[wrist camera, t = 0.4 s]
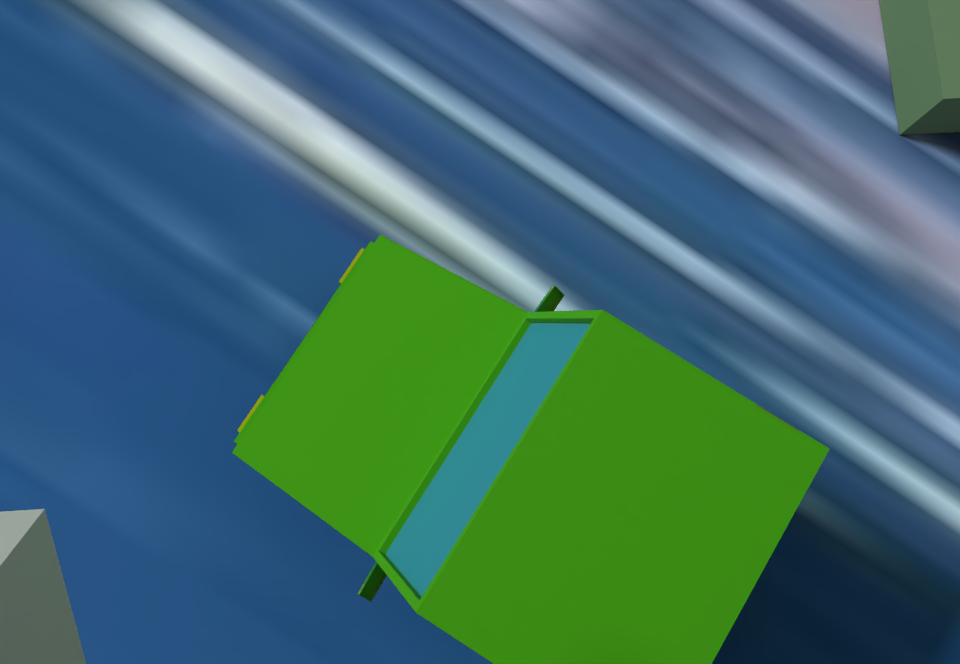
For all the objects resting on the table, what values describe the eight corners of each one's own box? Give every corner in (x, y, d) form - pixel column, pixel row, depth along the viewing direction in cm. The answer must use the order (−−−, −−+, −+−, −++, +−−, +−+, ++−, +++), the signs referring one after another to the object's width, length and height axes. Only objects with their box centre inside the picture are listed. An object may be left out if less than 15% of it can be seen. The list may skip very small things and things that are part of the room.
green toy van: (402, 239, 31) (374, 121, 22) (725, 439, 30) (850, 410, 21) (237, 484, 30) (125, 478, 20) (572, 705, 29) (629, 813, 19)
